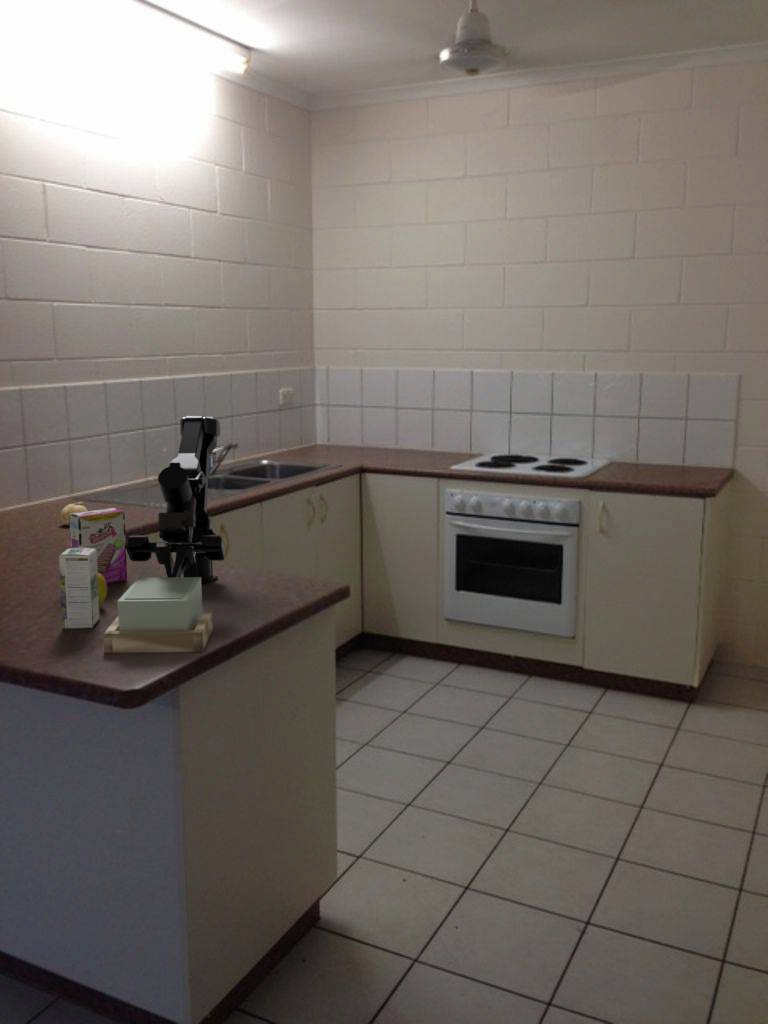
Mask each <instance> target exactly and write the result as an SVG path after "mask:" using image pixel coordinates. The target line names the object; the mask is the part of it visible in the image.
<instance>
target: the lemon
mask: <svg viewBox="0 0 768 1024" xmlns="http://www.w3.org/2000/svg"><path fill="white" fill-rule="evenodd" d="M98 592H99V605H100V604H102V603H103V602H104V601H105V599H106V597H107V595H108V594H107V593H108V584H106V581H105V579H104V577H103V576H102V575H101V574H100V573H98Z"/></svg>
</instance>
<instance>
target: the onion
mask: <svg viewBox="0 0 768 1024" xmlns="http://www.w3.org/2000/svg"><path fill="white" fill-rule="evenodd" d="M86 511H89V510H88V508H87V507H85V506H84V503H83V502H82V500H80V501H79V502H75V503H69V504H66V505H65V507H63V509H62V510H61V512H60V516H59V517H60V520H61V522H62V523H63V524H64V525H66V526H68V527H70V520H69V514H71V513H78V512H86Z"/></svg>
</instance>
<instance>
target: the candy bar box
mask: <svg viewBox="0 0 768 1024" xmlns="http://www.w3.org/2000/svg"><path fill="white" fill-rule="evenodd" d="M125 517H126V516H125V510H123V509H119V508H117V507H112V508H111V507H110V508H103V509H102V508H101V509H95V510H88V511H86V512H78V513H71V514H69V520H70V524H69V525H70V526H69V535H70V536H69V537H70V548H92V549H96V550H97V571H98V573H100V574H101V575H102V576H103V577H104V579H105V581H106V584H107V585H111V584H115V583H120V582H127V581H128V571H127V569H128V567H127V550H126V547H125V544H126V539H127V538H126V518H125Z"/></svg>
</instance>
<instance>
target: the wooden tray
mask: <svg viewBox="0 0 768 1024" xmlns="http://www.w3.org/2000/svg"><path fill="white" fill-rule="evenodd" d="M202 614H203V615H202V617H201V619H200V620H199V622H198V624H197V626H196V628H195V630H155V631H119V620H118V616H117V617H116V618H115V619H114V620H113V622H112V623H111V624H110V625H109V626H108V628H107V629H105V631H104V632H103V634H102V635H103V638H102V639H103V650H104V651H103V653H104V654H125V653H126V654H130V653H139V654H140V653H141V654H142V653H199V652H200V653H202V652H203V651H204V650H205V648H206V645H207V643H208V641H209V638H210V637H209V636H211V634H212V632H213V631H214V626H213V625H214V623H213V622H214V621H213V611H203V612H202Z"/></svg>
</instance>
